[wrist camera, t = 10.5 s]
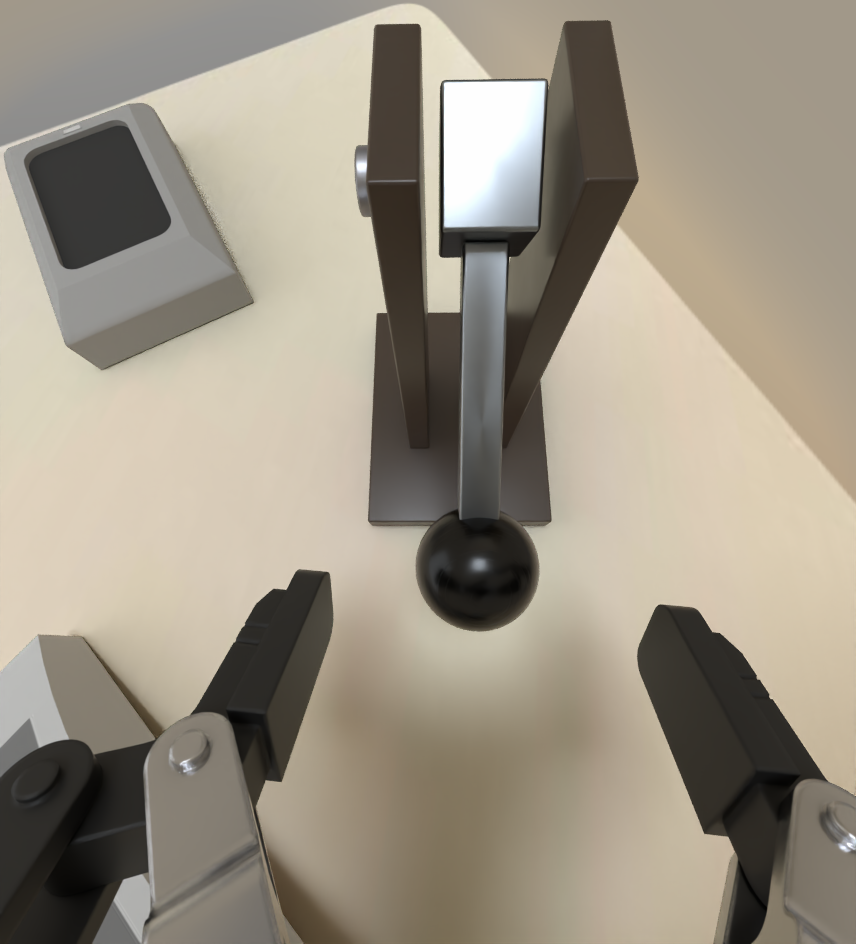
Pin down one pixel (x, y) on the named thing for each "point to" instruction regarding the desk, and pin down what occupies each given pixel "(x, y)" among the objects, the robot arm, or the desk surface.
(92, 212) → the grey flat block
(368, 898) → the desk surface
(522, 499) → the latch bracket
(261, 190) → the desk surface
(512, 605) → the latch lever
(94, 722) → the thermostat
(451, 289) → the desk surface
